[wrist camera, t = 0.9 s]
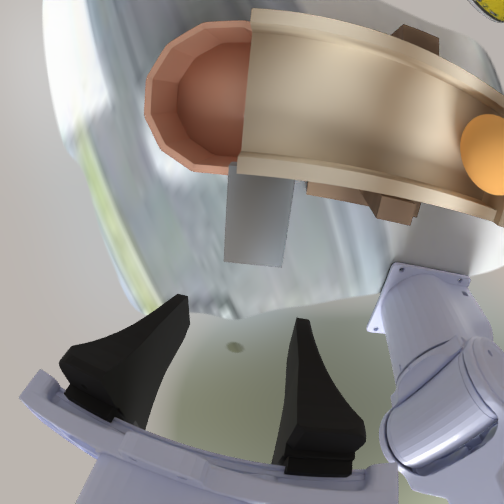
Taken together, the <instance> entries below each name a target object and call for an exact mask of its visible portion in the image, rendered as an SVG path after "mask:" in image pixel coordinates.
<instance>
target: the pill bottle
mask: <svg viewBox="0 0 504 504" xmlns="http://www.w3.org/2000/svg"><path fill="white" fill-rule="evenodd" d="M468 1H469V2H470V4H471V5H472V6H473V7H474V8H475V9H476V10H477V11H479V12H480V13H481V14H482V15H484V16H485V17H486V18H488V19H490V20H492V21H494V22H498V23H503V22H504V0H468Z"/></svg>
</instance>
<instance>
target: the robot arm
mask: <svg viewBox="0 0 504 504" xmlns="http://www.w3.org/2000/svg"><path fill="white" fill-rule="evenodd" d="M400 268H403V270H400ZM459 279H460V280H459ZM458 280H459V281H458ZM470 281H471V279H470V277H469V276H466V275H461V274H456V273H451V272H446V271H441V270H435V269H430V268H425V267H420V266H415V265H409V264H404V263H399V262H396V263H394V264H392V266H391V268H390V271H389V274H388V276H387V279H386V281H385V284H384V287H383V289H382V292H381V294H380V297H379V299H378V301H377V304H376V306H375V309H374V311H373V313H372V315H371V317H370V320H369V322H368V324H367V327H366V328H367V331H369V332H375V333H385V335H386V339H387V343H388V347H389V352H390V357H391V362H392V367H393V372H394V378H395V383H396V390H395V392H394V393H393V394H392V395H391V402H392V409H390V410H389V411H388V412H387V413H386V414H385V415H384V417H383V419H382V421H381V424H380V429H379V440H380V446H381V448H382V451H383V454H384V456H385V457H386V459H387V460H388V462H389V463H382V464H374V465H371V466H369V467H368V468H367V469H361V470H360V469H359V470H352V460H354V459H355V451H357V450H358V449H359V448H360V447H361V446H363V445H364V443H365V442H366V431H365V426H364V421H363V420H362V419H361V418H360V417H359V416H358V415H357V414H356V412H355V411H354V410H353V409H352V408H351V407H350V405H349V404H348V403H347V402H346V400H345V399H344V398H343V396H342V395H341V393H340V392H339V390H338V389H337V388H336V386H335V384H334V383H333V381H332V379H331V377H330V376H329V374H328V372H327V370H326V368H325V366H324V363H323V361H322V359H321V356H320V354H319V352H318V348H317V346H316V343H315V340H314V337H313V334H312V329H311V325H310V321H309V320H307V319H301V318H297V319H296V322H295V326H294V330H293V334H292V337H291V341H290V345H289V351H288V357H287V367H286V368H287V369H286V385H285V399H284V406H283V412H282V417H281V422H280V428H279V432H278V437H277V442H276V446H275V451H274V455H273V459H272V463H271V464H266V463H259V462H254V461H248V460H243V459H238V458H233V457H228V456H225V455H220V454H217V453H213V452H209V451H205V450H201V449H198V448H194V447H191V446H188V445H185V444H182V443H178V442H176V441H173V440H170V439H167V438H164V437H161V436H159V435H156V434H153V433H151V432H148V431H146V430H145V429H146V425H147V422H148V418H149V415H150V412H151V409H152V406H153V403H154V400H155V397H156V395H157V392H158V389H159V387H160V384H161V382H162V379H163V377H164V375H165V372H166V371H167V368H168V367H169V365H170V363H171V361H172V360H173V358H174V356H175V354H176V353H177V351H178V349H179V347H180V345H181V344H182V342H183V340H184V338H185V335H186V333H187V330H188V328H189V325H190V318H189V305H188V296H185V295H180V294H177V295H175V296H174V297H172V298H171V299H170V300H168V301H167V302H166V303H164V304H163V305H162V306H160V307H159V308H157V309H156V310H155V311H153V312H152V313H150V314H149V315H147V316H146V317H144V318H143V319H141V320H140V321H138V322H136V323H135V324H133V325H131V326H129V327H127V328H125V329H123V330H121V331H119V332H117V333H114V334H112V335H109V336H107V337H105V338H101V339H98V340H95V341H92V342H88V343H84V344H79V345H74V346H71V347H70V349H69V350H68V351H67V352H66V354H65V355H64V356H63V357H62V359H61V360H60V362H59V366H60V368H61V370H62V372H63V373H64V375H65V377H66V378H67V380H68V381H69V383H70V385H69V387H68V388H67V389H66V390H65V389H63V388H61V387H60V385H59V383H58V382H57V381H56V380H55V379H54V378H53V377H52V376H51V375H49V374H48V373H46V372H45V371H43V370H41V369H40V370H39V371H38V372H37V374H36V375H35V376H34V378H33V379H32V380H31V381H30V383H29V384H28V386H27V387H26V388H25V389H24V391H23V392H22V394H21V395H20V396H19V399H20V400H21V401H22V402H23V403H24V404H25V405H26V406H27V408H28V409H29V410H30V411H31V412H32V413H33V414H34V415H35V416H36V417H37V418H38V419H39V420H41V421H42V422H43V423H44V424H46V425H47V426H48V427H50V428H51V429H53V430H54V431H55V432H56V433H58V434H59V435H60V436H62V437H63V438H65V439H66V440H68V441H69V442H70V443H72V444H73V445H75V446H76V447H78V448H79V449H81V450H82V451H84V452H85V453H87V454H89V455H90V456H92V457H94V458H95V459H97V461H96V463H95V465H94V467H93V469H92V471H91V473H90V475H89V477H88V479H87V481H86V483H85V485H84V487H83V489H82V491H81V493H80V495H79V497H78V499H77V501H76V503H75V504H398V470H399V471H400V472H401V473H402V474H403V475H404V476H405V478H406V479H407V481H408V483H409V485H410V487H411V489H412V490H414V491H417V492H420V493H424V494H428V495H433V496H438V497H441V498H445V499H447V501H448V502H449V504H504V352H503V351H502V349H501V348H500V347H499V346H498V345H497V344H496V343H494V342H493V332H492V328H491V325H490V323H489V321H488V319H487V317H486V316H485V314H484V312H483V311H482V309H481V307H480V306H479V304H478V303H477V301H476V299H475V298H474V296H473V295H472V293H471V292H470V290H469V289H468V286H469V284H470ZM375 327H377V328H375ZM494 423H495V424H494ZM490 426H491V427H490ZM483 431H484V432H483Z"/></svg>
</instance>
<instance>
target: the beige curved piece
mask: <svg viewBox="0 0 504 504" xmlns="http://www.w3.org/2000/svg"><path fill="white" fill-rule="evenodd" d="M250 24H251V29H252V39H251V49H250V59H249V69H248V80H247V90H246V101H245V112H244V124H243V136H242V148H241V152H240V154H239V155H238V160H237V162H231V163H230V165H229V172H228V188H227V205H226V225H225V247H224V262H232V263H241V264H251V265H261V266H271V267H281V268H282V262H283V256H284V250H285V244H286V238H287V231H288V225H289V218H290V212H291V205H292V198H293V191H294V184H295V180H301V181H309V182H316V183H323V184H329V185H336V186H342V187H348V188H354V189H360V190H365V191H371V192H376V193H381V194H386V195H391V196H396V197H400V198H405V199H410V200H414V201H418V202H423V203H427V204H431V205H435V206H439V207H443V208H447V209H451V210H454V211H458V212H462V213H465V214H469V215H472V216H476V217H479V218H482V219H486V220H489V221H492V222H494V223H495V224H497V225H498V226H501V227H504V195H493V194H489V193H487V192H485V191H483V190H482V189H480V188H479V187H478V186H477V185H476V184H475V183H474V182H473V181H472V180H471V178H470V177H469V176H468V174H467V172H466V170H465V168H464V165H463V162H462V158H461V153H460V142H461V137H462V134H463V131H464V129H465V127H466V126H467V124H468V123H469V122H470V121H471V120H472V119H474V118H475V117H477V116H480V115H484V114H493V115H497V116H500V117H502V118H504V96H503V95H502V94H501V93H499V92H498V91H496V90H495V89H494V88H492V87H491V86H489V85H488V84H486V83H485V82H483V81H482V80H480V79H479V78H477V77H475V76H474V75H472V74H471V73H469V72H467V71H466V70H464V69H462V68H460V67H459V66H457V65H455V64H453V63H451V62H449V61H447V60H446V59H444V58H442V57H440V56H438V55H436V54H434V53H431V52H429V51H427V50H425V49H423V48H421V47H418V46H416V45H414V44H411V43H409V42H406V41H404V40H401V39H399V38H396V37H393V36H391V35H388V34H385V33H382V32H379V31H376V30H373V29H369V28H366V27H363V26H359V25H356V24H352V23H348V22H344V21H340V20H336V19H331V18H327V17H322V16H316V15H311V14H305V13H298V12H291V11H282V10H272V9H259V8H252V10H251V19H250Z"/></svg>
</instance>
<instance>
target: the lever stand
mask: <svg viewBox="0 0 504 504" xmlns="http://www.w3.org/2000/svg"><path fill="white" fill-rule="evenodd" d="M391 36H393V37H396V38H399V39H401V40H404V41H406V42H409V43H411V44H414V45H416V46H418V47H421V48H423V49H425V50H427V51H429V52H431V53H434V54H436V55H438V56H439V38H437V37H435V36H433V35H430V34H428V33H426V32H423V31H421V30H418V29H415V28H413V27H410V26H407V25H404V24H403V25H402V26H401V27H400V28H399V29H397V30H396V31H395V32H394V33H393V34H392V35H391ZM306 194H307V195H313V196H319V197H324V198H330V199H335V200H340V201H345V202H350V203H355V204H360V205H365V206H369V207H370V209H371V210H372V212H373V213H374V215H375V217H376V218H377V219H382V220H387V221H391V222H396V223H400V224H404V225H409V226H410V225H411V221H412V218H413V217H417V215H418V212H419V208H420V205H421V202H418V201H414V200H410V199H405V198H400V197H396V196H391V195H386V194H381V193H376V192H371V191H365V190H360V189H354V188H348V187H342V186H336V185H329V184H323V183H316V182H309V181H308V185H307V193H306Z"/></svg>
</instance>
